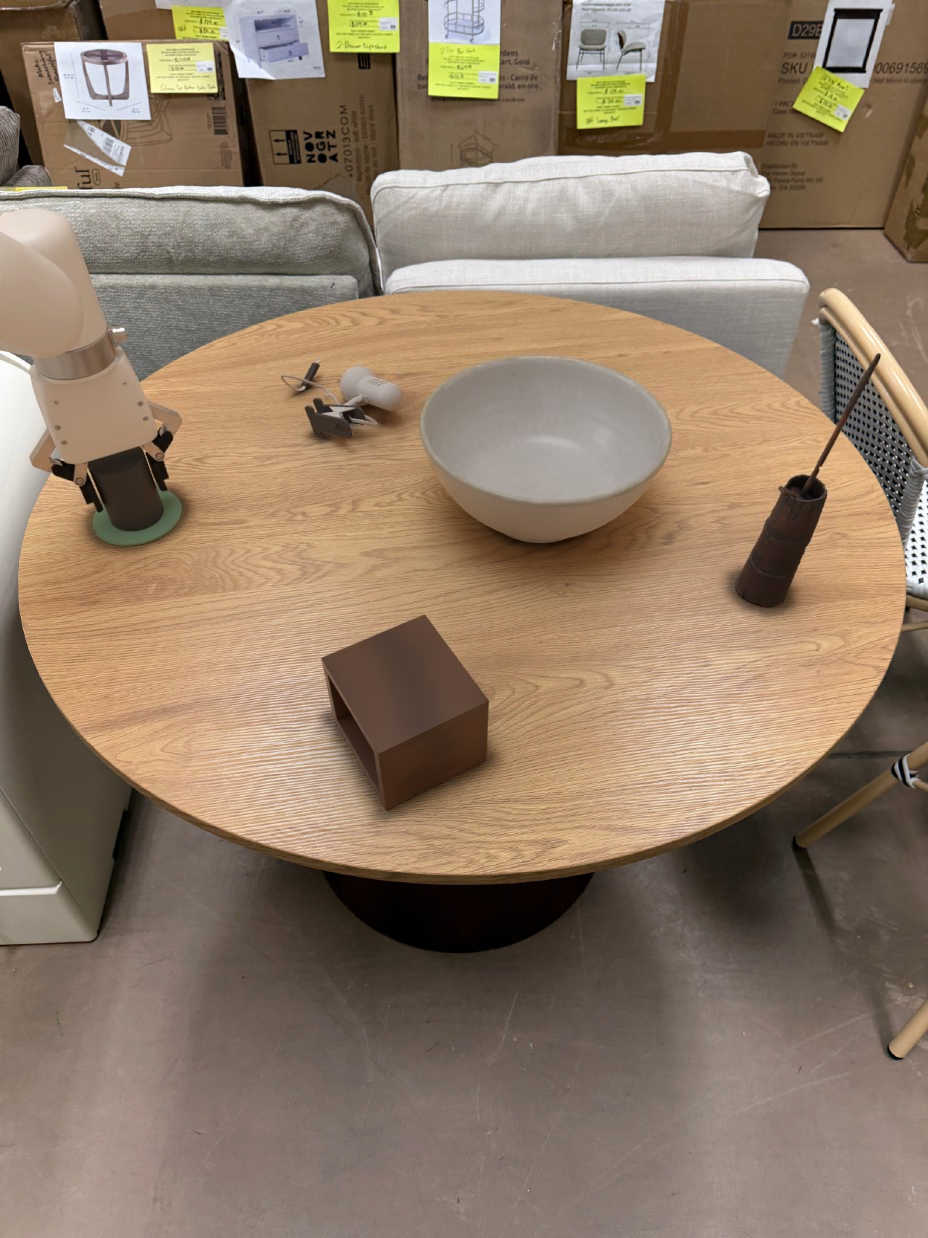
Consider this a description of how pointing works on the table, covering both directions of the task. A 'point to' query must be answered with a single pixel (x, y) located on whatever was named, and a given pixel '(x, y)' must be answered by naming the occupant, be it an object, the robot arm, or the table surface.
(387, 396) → the clip-on lamp
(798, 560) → the butter churn
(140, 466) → the dark brown cylinder
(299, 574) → the table surface
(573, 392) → the decorative bowl
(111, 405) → the robot arm
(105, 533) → the mat
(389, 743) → the box
